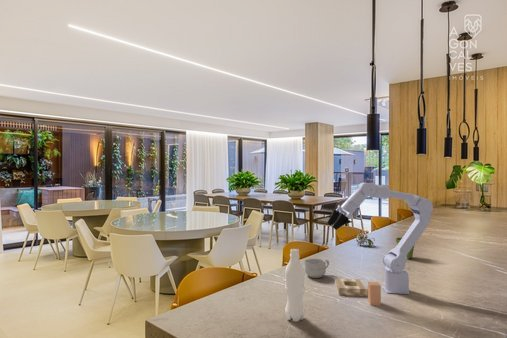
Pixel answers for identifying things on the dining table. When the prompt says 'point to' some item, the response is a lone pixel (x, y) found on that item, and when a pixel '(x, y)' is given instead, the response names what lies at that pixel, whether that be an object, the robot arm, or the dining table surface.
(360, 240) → the passion flower
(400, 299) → the dining table surface
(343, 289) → the birch socket block
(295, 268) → the water bottle
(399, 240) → the plant pot
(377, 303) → the terracotta peg
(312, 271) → the teacup
